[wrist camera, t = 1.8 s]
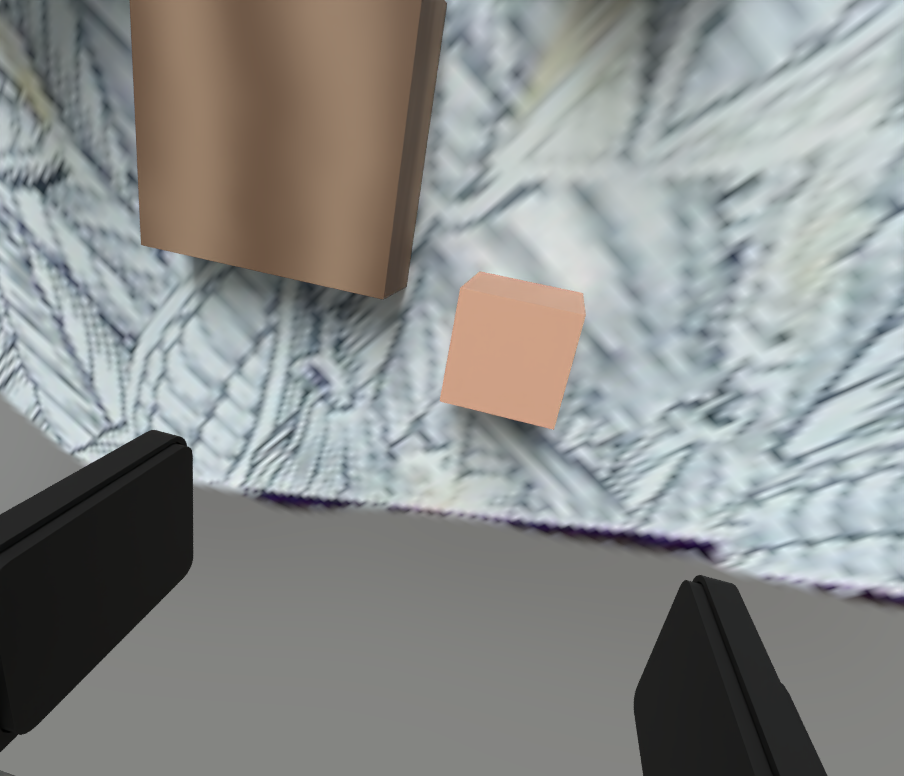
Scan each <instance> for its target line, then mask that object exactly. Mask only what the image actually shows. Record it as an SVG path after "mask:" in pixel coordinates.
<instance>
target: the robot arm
mask: <svg viewBox="0 0 904 776" xmlns="http://www.w3.org/2000/svg"><path fill="white" fill-rule="evenodd" d="M192 561H193V455H192V450H191V448H189V447H188V446H187V443H186V441H185V439H183V438H182V437H180V436H176V435H172V434H168V433H164V432H161V431H157V430H151V431H148V432H146V433H144V434H142V435H141V436H139V437H137V438H135V439H134V440H132V441H130V442H128V443H126V444H125V445H123V446H121V447H119V448H118V449H116V450H114V451H112V452H111V453H109V454H107V455H105V456H103V457H102V458H100V459H98V460H96V461H95V462H93V463H91V464H89V465H87V466H86V467H84V468H82V469H80V470H79V471H77V472H75V473H73V474H72V475H70V476H68V477H66V478H64V479H63V480H61V481H59V482H57V483H56V484H54V485H52V486H50V487H48V488H47V489H45V490H43V491H41V492H40V493H38V494H36V495H34V496H33V497H31V498H29V499H27V500H25V501H24V502H22V503H20V504H18V505H17V506H15V507H13V508H11V509H9V510H8V511H6V512H4V513H2V514H1V515H0V752H1V751H2V750H3V749H4V748H5V747H6V746H7V745H8V744H9V743H10V742H11V741H12V740H13V739H14V738H15V737H16V736H17V735H18V734H19V735H22V734H26V733H27V732H29V731H31V730H32V729H33V728H34V727H36V726H37V725H38V724H39V723H40V722H41V721H42V720H43V719H44V718H45V717H46V716H47V715H48V714H49V713H50V712H51V711H52V710H53V709H54V708H55V707H56V706H57V705H58V704H59V703H60V702H61V701H62V700H63V699H64V698H65V697H66V696H67V695H68V693H70V692H71V691H72V690H73V689H74V688H75V687H76V685H77V684H79V682H81V680H82V679H83V678H84V677H86V676H87V675H88V673H90V672H91V670H92V669H93V668H94V667H95V666H96V665H97V664H98V663H99V662H100V661H101V660H102V659H103V658H104V657H105V656H106V655H107V654H108V653H109V652H110V651H111V650H112V649H113V648H114V647H115V646H116V645H117V644H118V643H119V642H120V641H121V640H122V639H123V638H124V637H125V636H126V635H127V634H128V633H129V632H130V631H131V630H132V629H133V628H134V627H135V626H136V625H137V624H138V623H139V622H140V621H141V620H142V619H143V618H144V617H145V616H146V615H147V614H148V613H149V612H150V611H151V610H152V609H153V608H154V607H155V606H156V605H157V604H158V603H159V602H160V601H161V600H162V599H163V598H164V597H165V596H166V595H167V594H168V593H169V592H170V591H171V590H172V589H173V588H174V587H175V586H176V585H177V584H178V583H179V582H180V581H181V580H182V579H183V578H184V577H185V575H186V574H187V573H188V571H189V569H190V567H191V565H192ZM634 715H635V722H636V729H637V735H638V743H639V750H640V756H641V763H642V770H643V776H827V774H826V772H825V770H824V767H823V765H822V763H821V761H820V759H819V757H818V755H817V753H816V750H815V748H814V746H813V744H812V742H811V740H810V738H809V735H808V733H807V731H806V729H805V727H804V725H803V722H802V721H801V718H800V716H799V714H798V712H797V709H796V707H795V705H794V703H793V701H792V699H791V697H790V694H789V693H788V691H787V690H786V688H785V686H784V685H783V684H782V683H781V682H780V680H779V678H778V676H777V674H776V671H775V669H774V667H773V665H772V663H771V660H770V658H769V656H768V654H767V652H766V649H765V647H764V645H763V643H762V641H761V639H760V637H759V634H758V632H757V630H756V628H755V625H754V623H753V621H752V619H751V617H750V615H749V613H748V610H747V608H746V606H745V604H744V602H743V599H742V597H741V595H740V593H739V591H738V589H737V587H736V586H735V585H734V584H732V583H728V582H724V581H721V580H717V579H713V578H709V577H706V576H702V575H698V576H696V577H695V578H694V579H693V581H692V582H691V581H687V580H685V581H684V582H682V584H681V586H680V588H679V590H678V593H677V595H676V597H675V599H674V602H673V604H672V607H671V609H670V611H669V614H668V616H667V618H666V621H665V623H664V625H663V628H662V630H661V632H660V635H659V637H658V639H657V641H656V644H655V646H654V648H653V651H652V653H651V655H650V658H649V660H648V662H647V665H646V667H645V669H644V672H643V674H642V676H641V679H640V681H639V683H638V686H637V688H636V691H635V697H634ZM0 776H14V775H11V774H9V773H6V772H3V771H0Z"/></svg>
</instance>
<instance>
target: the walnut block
mask: <svg viewBox="0 0 904 776" xmlns="http://www.w3.org/2000/svg"><path fill="white" fill-rule="evenodd" d="M446 7H447V3H446V2H445V0H130V18H131V39H132V61H133V82H134V104H135V125H136V146H137V168H138V189H139V210H140V232H141V245H144V246H148V247H153V248H157V249H161V250H166V251H170V252H175V253H179V254H184V255H188V256H192V257H197V258H201V259H206V260H210V261H215V262H219V263H224V264H228V265H232V266H237V267H241V268H246V269H250V270H255V271H259V272H263V273H268V274H272V275H277V276H281V277H286V278H290V279H295V280H299V281H303V282H308V283H312V284H317V285H321V286H326V287H330V288H335V289H339V290H343V291H348V292H352V293H357V294H361V295H366V296H370V297H374V298H379V299H385V298H387V297H389V296H391V295H392V294H394V293H396V292H398V291H400V290H401V289H403V288H405V287H407V280H408V273H409V266H410V259H411V252H412V245H413V238H414V231H415V224H416V217H417V210H418V203H419V196H420V189H421V182H422V175H423V168H424V161H425V154H426V147H427V140H428V133H429V126H430V119H431V112H432V105H433V98H434V91H435V84H436V77H437V70H438V63H439V56H440V49H441V42H442V35H443V28H444V21H445V14H446Z"/></svg>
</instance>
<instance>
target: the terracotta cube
mask: <svg viewBox="0 0 904 776" xmlns="http://www.w3.org/2000/svg"><path fill="white" fill-rule="evenodd" d="M585 316H586V314H585V306H584V299H583V293H579V292H574V291H570V290H565V289H560V288H556V287H551V286H546V285H541V284H537V283H532V282H527V281H523V280H518V279H513V278H509V277H504V276H499V275H495V274H490V273H485V272H481V271H480V272H478V273H477V274H476V275H475V276H474V277H472V278H471V279H470V280H469V281H468V282H467V283H465V284H464V285H463V286H462V287H461V288H460V292H459V298H458V303H457V309H456V314H455V320H454V325H453V331H452V336H451V342H450V347H449V353H448V358H447V364H446V369H445V375H444V380H443V386H442V391H441V397H440V401H441V402H445V403H449V404H453V405H457V406H461V407H465V408H469V409H473V410H477V411H481V412H485V413H489V414H493V415H497V416H501V417H505V418H509V419H513V420H517V421H521V422H525V423H529V424H533V425H537V426H541V427H545V428H549V429H553V430H554V427H555V424H556V420H557V416H558V413H559V409H560V406H561V402H562V398H563V395H564V391H565V388H566V384H567V381H568V377H569V373H570V370H571V366H572V363H573V359H574V355H575V352H576V348H577V345H578V341H579V337H580V334H581V330H582V327H583V323H584V319H585Z"/></svg>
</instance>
